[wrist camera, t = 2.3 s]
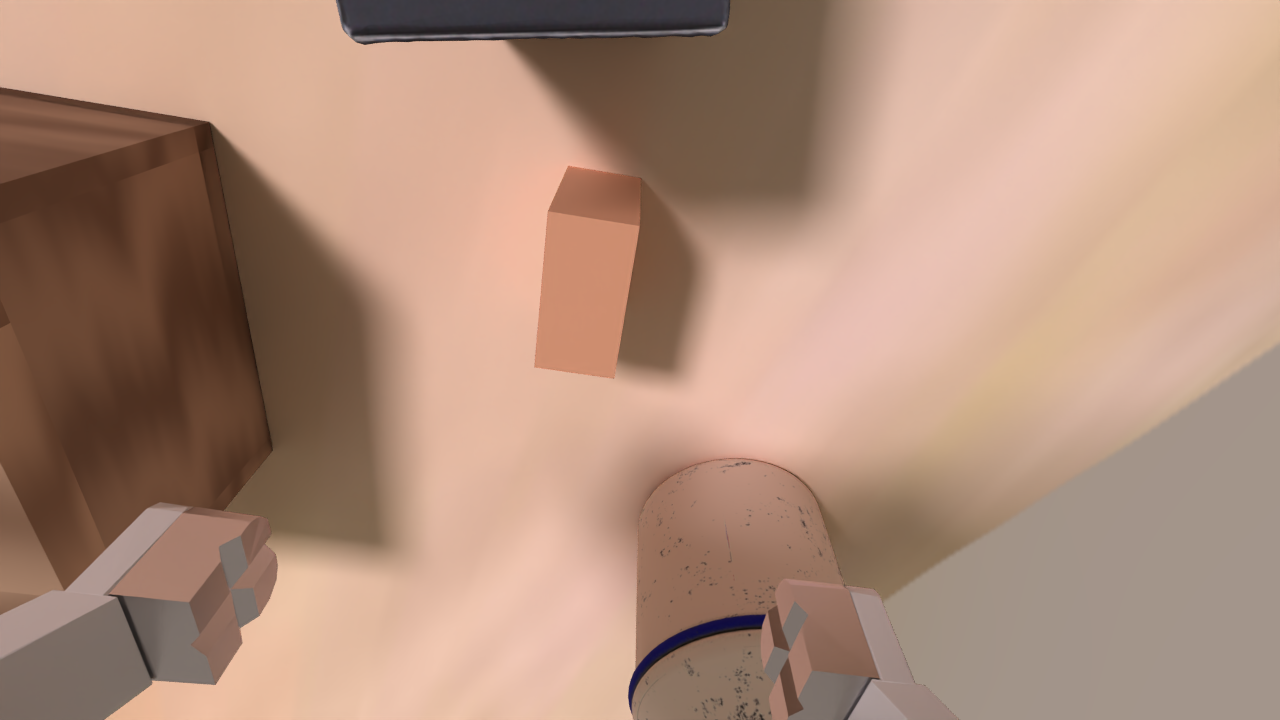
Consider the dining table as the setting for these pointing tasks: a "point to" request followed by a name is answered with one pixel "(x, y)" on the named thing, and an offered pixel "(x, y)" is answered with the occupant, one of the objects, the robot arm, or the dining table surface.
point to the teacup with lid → (718, 586)
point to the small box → (528, 19)
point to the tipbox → (113, 334)
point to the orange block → (587, 271)
